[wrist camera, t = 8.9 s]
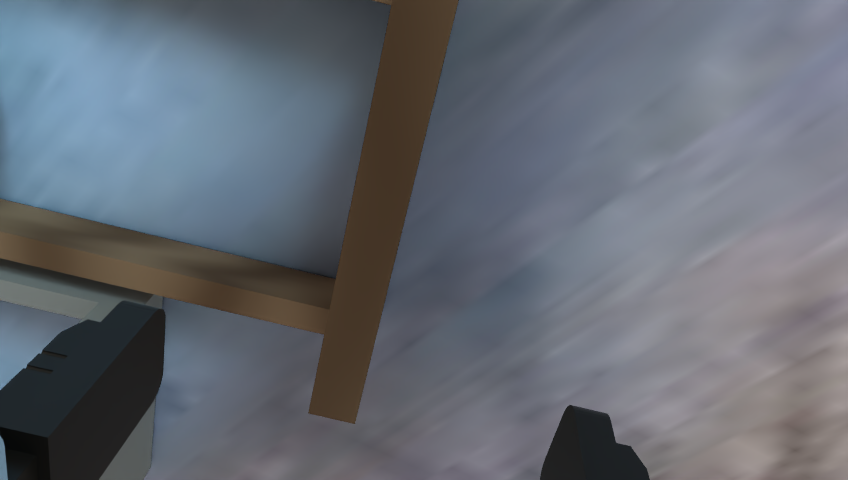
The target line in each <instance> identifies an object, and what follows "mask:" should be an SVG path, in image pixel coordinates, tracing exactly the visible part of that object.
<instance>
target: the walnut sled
mask: <svg viewBox="0 0 848 480" xmlns="http://www.w3.org/2000/svg"><path fill="white" fill-rule="evenodd" d="M373 1H377V2H381V3H384V4H388V5H391V9H390V14H389V19H388V24H387V29H386V34H385V39H384V44H383V49H382V54H381V59H380V63H379V68H378V73H377V78H376V83H375V88H374V93H373V98H372V103H371V108H370V113H369V118H368V122H367V127H366V132H365V137H364V142H363V147H362V152H361V157H360V162H359V167H358V172H357V176H356V181H355V186H354V191H353V196H352V201H351V206H350V211H349V216H348V221H347V226H346V231H345V235H344V240H343V245H342V250H341V255H340V260H339V265H338V270H337V275H336V279H333V278H329V277H325V276H321V275H316V274H312V273H308V272H304V271H300V270H295V269H291V268H287V267H283V266H279V265H275V264H270V263H266V262H262V261H258V260H254V259H250V258H245V257H241V256H237V255H233V254H229V253H224V252H220V251H216V250H212V249H208V248H204V247H199V246H195V245H191V244H187V243H183V242H179V241H174V240H170V239H166V238H162V237H158V236H154V235H149V234H145V233H141V232H137V231H133V230H128V229H124V228H120V227H116V226H112V225H108V224H103V223H99V222H95V221H91V220H87V219H83V218H78V217H74V216H70V215H66V214H62V213H58V212H53V211H49V210H45V209H41V208H37V207H32V206H28V205H24V204H20V203H16V202H12V201H7V200H3V199H0V258H2V259H6V260H10V261H14V262H19V263H23V264H27V265H31V266H36V267H40V268H44V269H48V270H53V271H57V272H61V273H65V274H70V275H74V276H78V277H82V278H86V279H91V280H95V281H99V282H103V283H108V284H112V285H116V286H120V287H125V288H129V289H133V290H137V291H142V292H146V293H150V294H154V295H159V296H163V297H167V298H171V299H175V300H180V301H184V302H188V303H192V304H197V305H201V306H205V307H209V308H214V309H218V310H222V311H226V312H231V313H235V314H239V315H243V316H248V317H252V318H256V319H260V320H264V321H269V322H273V323H277V324H281V325H286V326H290V327H294V328H298V329H303V330H307V331H311V332H315V333H320V334H324V339H323V344H322V348H321V353H320V358H319V363H318V368H317V373H316V378H315V383H314V388H313V393H312V398H311V403H310V407H309V412H308V413H309V414H314V415H318V416H322V417H327V418H331V419H335V420H340V421H344V422H348V423H353V424H355V421H356V417H357V413H358V409H359V405H360V400H361V396H362V392H363V388H364V384H365V380H366V376H367V372H368V368H369V364H370V360H371V356H372V352H373V347H374V343H375V339H376V335H377V331H378V327H379V323H380V319H381V315H382V311H383V307H384V303H385V299H386V295H387V290H388V286H389V282H390V278H391V274H392V270H393V266H394V262H395V258H396V254H397V250H398V246H399V242H400V237H401V233H402V229H403V225H404V221H405V217H406V213H407V209H408V205H409V201H410V197H411V193H412V189H413V184H414V180H415V176H416V172H417V168H418V164H419V160H420V156H421V152H422V148H423V144H424V140H425V136H426V131H427V127H428V123H429V119H430V115H431V111H432V107H433V103H434V99H435V95H436V91H437V87H438V83H439V78H440V74H441V70H442V66H443V62H444V58H445V54H446V50H447V46H448V42H449V38H450V34H451V30H452V25H453V21H454V17H455V13H456V9H457V5H458V1H459V0H373Z"/></svg>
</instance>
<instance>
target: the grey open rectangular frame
mask: <svg viewBox="0 0 848 480" xmlns="http://www.w3.org/2000/svg"><path fill="white" fill-rule="evenodd" d="M0 300H1V301H5V302H10V303H14V304H18V305H23V306H27V307H31V308H35V309H40V310H44V311H48V312H53V313H57V314H61V315H65V316H70V317H74V318H78V319H82V320H81V321H80V322H79V323H81V322H83V321H85V320H87V319H89V320H93V321H98V322H101V321H102V320H103V319H104V318H105V317H106V316H107V315H108V314H109V313H110V312H111V311H112V310H113V309H114V308H115V306H116V305H117V304H119V303H120V302H121V301H124V300H126V301H130V302H134V303H139V304H143V305H147V306H152V307H156V308H160V309H162V303H163V296H159V295H154V294H150V293H146V292H142V291H137V290H133V289H129V288H125V287H120V286H116V285H112V284H108V283H103V282H99V281H95V280H91V279H86V278H82V277H78V276H74V275H70V274H65V273H61V272H57V271H53V270H48V269H44V268H40V267H36V266H31V265H27V264H23V263H19V262H14V261H10V260H6V259H2V258H0ZM79 323H78V324H79ZM155 400H156V397H155V399H154V401H153V403H152V404H151V406H150V407H149V409H148V410H147V412H146V413H145V414H144V416H143V417H142V419H141V420H140V422H139V423H138V424H137V426H136V427H135V429H134V430H133V432H132V433H131V434H130V436H129V437H128V439H127V440H126V442H125V443H124V444H123V446H122V447H121V449H120V450H119V452H118V453H117V455H116V456H115V457H114V459H113V460H112V462H111V463H110V465H109V466H108V467H107V469H106V470H105V472H104V473H103V475H102V476H101V477H100V479H99V480H143V479H144V477H145V476H146V474H147V472H148V471H149V469H150V467H151V455H152V441H153V427H154V413H155Z"/></svg>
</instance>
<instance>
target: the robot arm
mask: <svg viewBox="0 0 848 480" xmlns="http://www.w3.org/2000/svg"><path fill="white" fill-rule="evenodd" d="M164 342H165V312H164V310H163V309H160V308H156V307H152V306H147V305H143V304H139V303H134V302H130V301H126V300H124V301H121V302H120V303H119V304H117V305H116V306H115V308H114V309H113V310H112V311H111V312H110V313H109V314H108V315H107V316H106V317H105V318H104V319H103V320H102V321H101V322H98V321H93V320H89V319H87V320H85V321H83V322H81V323H79V324H77V325H75V326H73V327H71V328H68V329H66V330H64V331H62V332H61V333H60V334H59V335H57V336H56V337H55V338H54V339H53V340H52V341H51V342H50V343H49V344H48V345H47V346H46V347H45V348H44V349H43V350H42V353H41V354H38V355H37V356H36V357H35V358H34V359H33V360H32V361H30V362H29V363H28V364H27V368H26V369H24V368H23V369H22V370H21V371H20V372H19V373H18V374H17V375H16V376H15V377H14V378H13V379H12V380H11V381H10V382H9V383H8V384H7V385H6V386H5V387H3V388H2V389H1V390H0V480H99V479H100V477H101V476H102V475H103V473H104V472H105V470H106V469H107V467H108V466H109V465H110V463H111V462H112V460H113V459H114V457H115V456H116V455H117V453H118V452H119V450H120V449H121V447H122V446H123V444H124V443H125V442H126V440H127V439H128V437H129V436H130V434H131V433H132V432H133V430H134V429H135V427H136V426H137V424H138V423H139V422H140V420H141V419H142V417H143V416H144V414H145V413H146V412H147V410H148V409H149V407H150V406H151V404H152V403H153V401H154V399H155V397H156V395H157V393H158V390H159V387H160V384H161V381H162V376H163V364H164ZM540 480H650V479H649V475H648V472H647V469H646V467H645V466H644V465H643V463H642V462H641V460H640V459H639V458H638V456H637V455H636V453H635V452H634V451H633V449H632V448H631V446H627V445H623V444H618V443H616V441H615V437H614V432H613V428H612V424H611V420H610V417H609V415H608V414H606V413H602V412H598V411H594V410H590V409H585V408H581V407H577V406H572V405H569V406H568V407H567V408H566V410H565V411H564V414H563V416H562V419H561V421H560V423H559V426H558V428H557V431H556V433H555V436H554V438H553V441H552V443H551V446H550V448H549V451H548V453H547V455H546V458H545V461H544V463H543V467H542V471H541V477H540Z"/></svg>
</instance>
